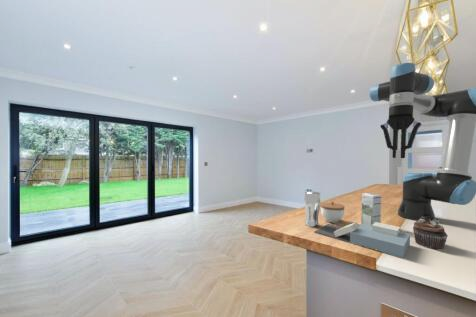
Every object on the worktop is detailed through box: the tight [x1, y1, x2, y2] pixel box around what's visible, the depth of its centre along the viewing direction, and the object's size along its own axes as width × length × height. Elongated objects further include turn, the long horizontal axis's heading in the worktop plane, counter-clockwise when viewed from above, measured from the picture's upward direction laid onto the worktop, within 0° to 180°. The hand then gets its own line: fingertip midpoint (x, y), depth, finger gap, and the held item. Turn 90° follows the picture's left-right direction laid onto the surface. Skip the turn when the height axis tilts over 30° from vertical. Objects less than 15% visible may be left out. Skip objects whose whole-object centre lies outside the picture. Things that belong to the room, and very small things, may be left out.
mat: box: [313, 223, 350, 243], centre depth 91 cm, size 14×14×1 cm
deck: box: [349, 223, 411, 259], centre depth 81 cm, size 14×16×4 cm
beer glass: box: [304, 190, 322, 228], centre depth 100 cm, size 7×7×15 cm
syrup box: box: [360, 192, 382, 226], centre depth 101 cm, size 6×6×14 cm
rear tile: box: [372, 222, 401, 236], centre depth 83 cm, size 6×8×2 cm
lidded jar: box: [320, 201, 345, 224], centre depth 107 cm, size 11×11×9 cm
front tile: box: [333, 221, 360, 237], centre depth 86 cm, size 6×8×2 cm
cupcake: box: [412, 216, 448, 250], centre depth 81 cm, size 10×10×10 cm
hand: (398, 166), depth 85 cm, fingers closed
